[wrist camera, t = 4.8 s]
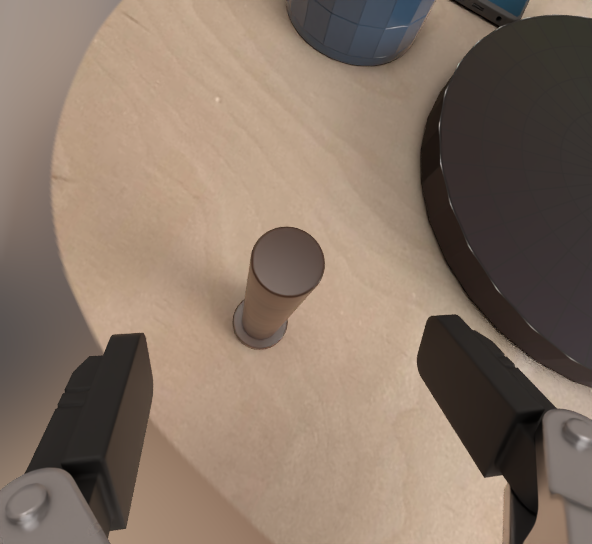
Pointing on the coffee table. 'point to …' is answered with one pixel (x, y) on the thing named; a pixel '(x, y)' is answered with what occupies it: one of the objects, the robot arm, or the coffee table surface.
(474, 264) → the disc
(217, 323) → the coffee table surface
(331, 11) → the bowl
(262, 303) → the stick
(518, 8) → the smartphone
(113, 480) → the robot arm
